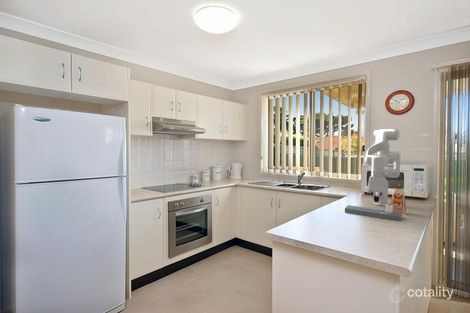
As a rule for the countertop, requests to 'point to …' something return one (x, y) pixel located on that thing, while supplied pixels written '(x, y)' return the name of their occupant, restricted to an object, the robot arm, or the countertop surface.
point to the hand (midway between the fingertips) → (376, 202)
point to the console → (373, 212)
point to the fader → (389, 208)
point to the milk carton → (398, 200)
